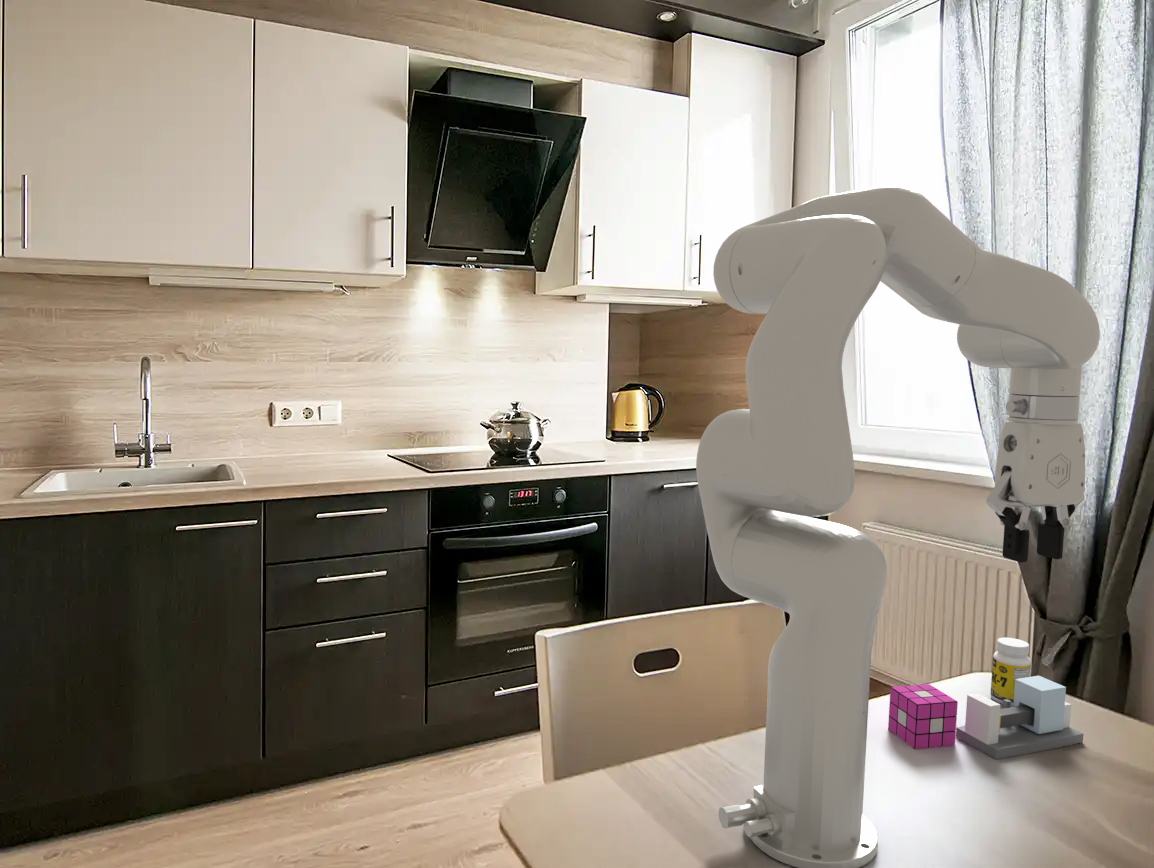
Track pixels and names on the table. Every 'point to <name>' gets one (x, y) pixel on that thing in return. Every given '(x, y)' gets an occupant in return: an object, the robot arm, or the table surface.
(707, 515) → the robot arm
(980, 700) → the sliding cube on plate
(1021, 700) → the sleeve
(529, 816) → the table surface
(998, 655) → the supplement bottle
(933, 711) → the puzzle toy
